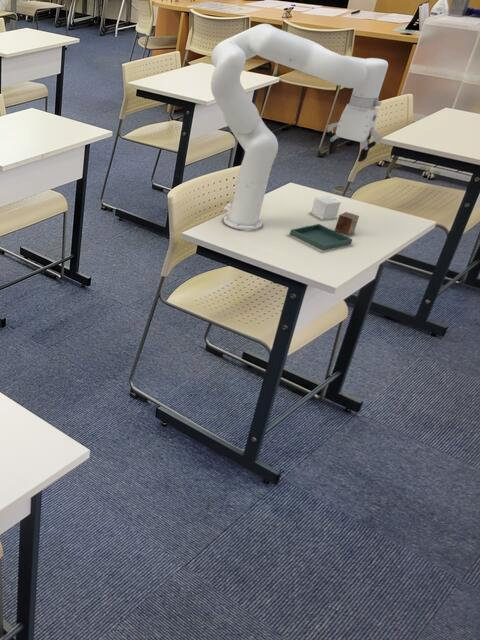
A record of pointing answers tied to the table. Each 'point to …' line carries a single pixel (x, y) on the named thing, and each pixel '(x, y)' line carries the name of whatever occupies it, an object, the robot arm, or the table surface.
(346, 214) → the block
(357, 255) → the table surface
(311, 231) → the tray
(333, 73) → the robot arm
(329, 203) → the white cube
